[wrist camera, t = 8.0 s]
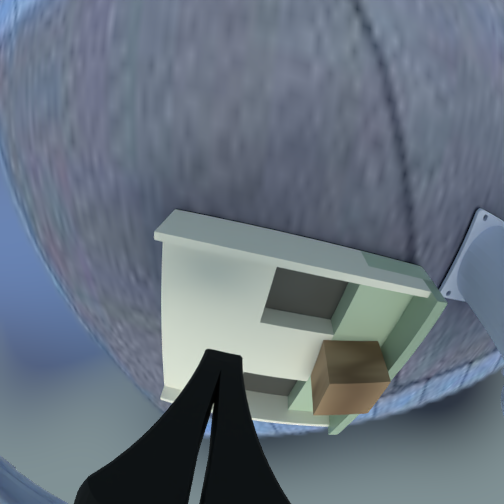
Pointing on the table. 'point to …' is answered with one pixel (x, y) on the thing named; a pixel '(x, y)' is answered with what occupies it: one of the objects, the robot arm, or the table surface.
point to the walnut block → (348, 377)
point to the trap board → (281, 309)
